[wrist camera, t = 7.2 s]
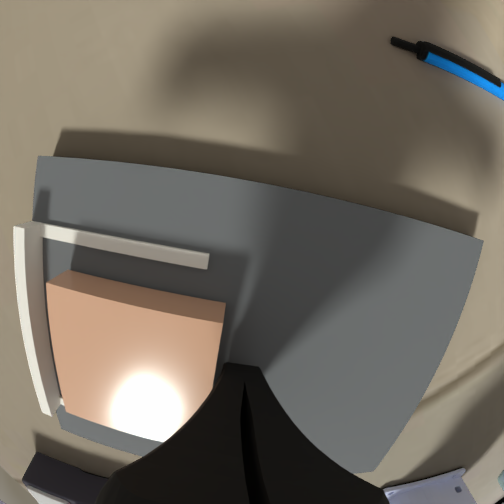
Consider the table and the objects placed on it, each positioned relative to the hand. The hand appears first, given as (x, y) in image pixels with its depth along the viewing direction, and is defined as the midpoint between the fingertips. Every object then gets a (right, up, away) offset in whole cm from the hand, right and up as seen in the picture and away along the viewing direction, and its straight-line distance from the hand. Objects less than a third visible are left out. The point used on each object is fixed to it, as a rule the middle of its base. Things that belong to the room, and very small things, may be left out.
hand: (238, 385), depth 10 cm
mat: (0, 0, +2) cm, 2 cm away
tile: (-1, 0, 0) cm, 1 cm away
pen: (+16, +13, 0) cm, 20 cm away
